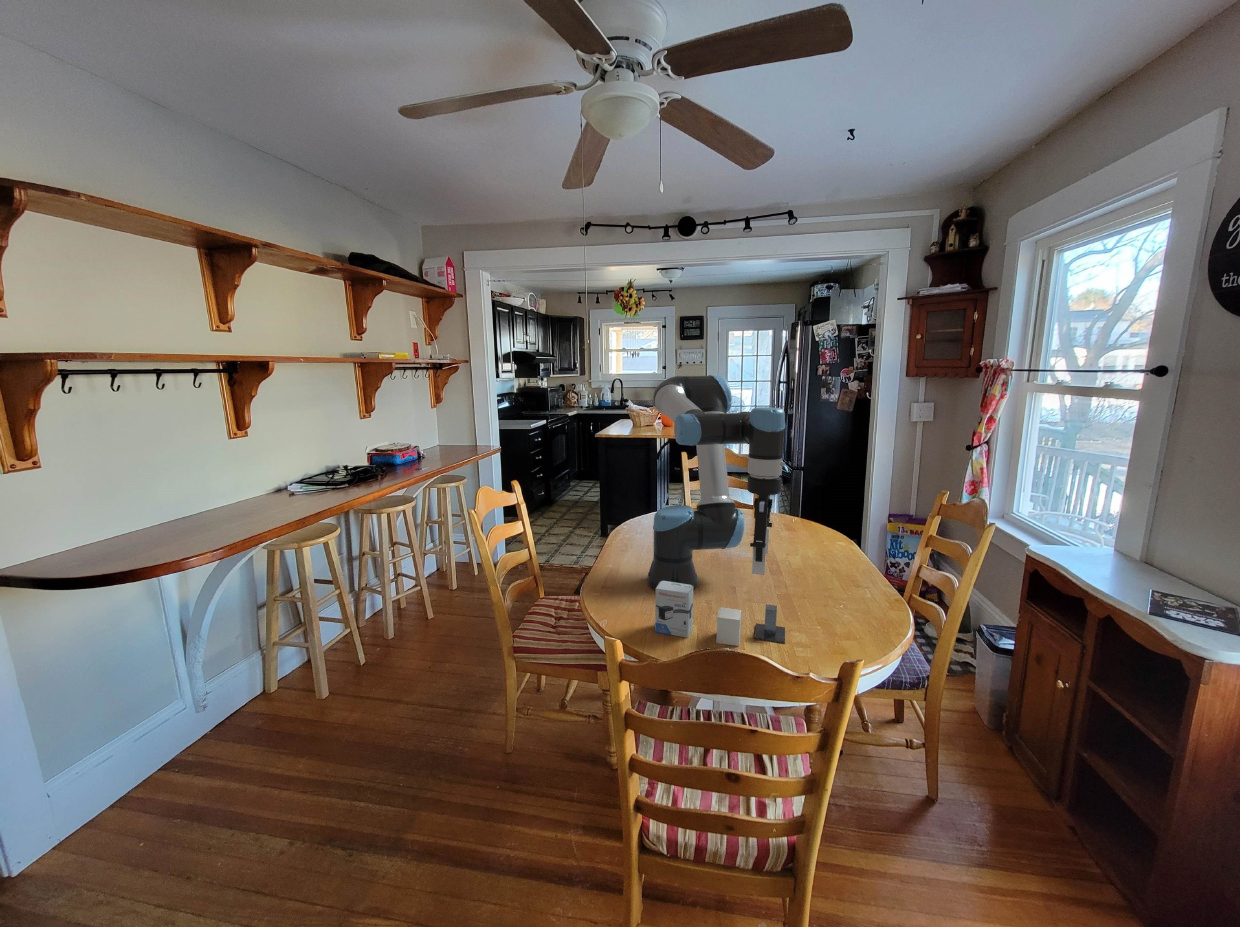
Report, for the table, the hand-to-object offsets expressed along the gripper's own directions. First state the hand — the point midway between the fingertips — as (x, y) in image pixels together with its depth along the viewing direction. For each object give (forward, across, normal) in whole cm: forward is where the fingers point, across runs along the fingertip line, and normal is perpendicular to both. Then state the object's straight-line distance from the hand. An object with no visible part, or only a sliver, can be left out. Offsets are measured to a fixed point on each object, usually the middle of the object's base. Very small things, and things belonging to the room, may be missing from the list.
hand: (760, 562), depth 121 cm
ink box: (+19, -4, +20) cm, 28 cm away
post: (+19, +1, -3) cm, 19 cm away
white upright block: (+19, -4, +6) cm, 20 cm away
